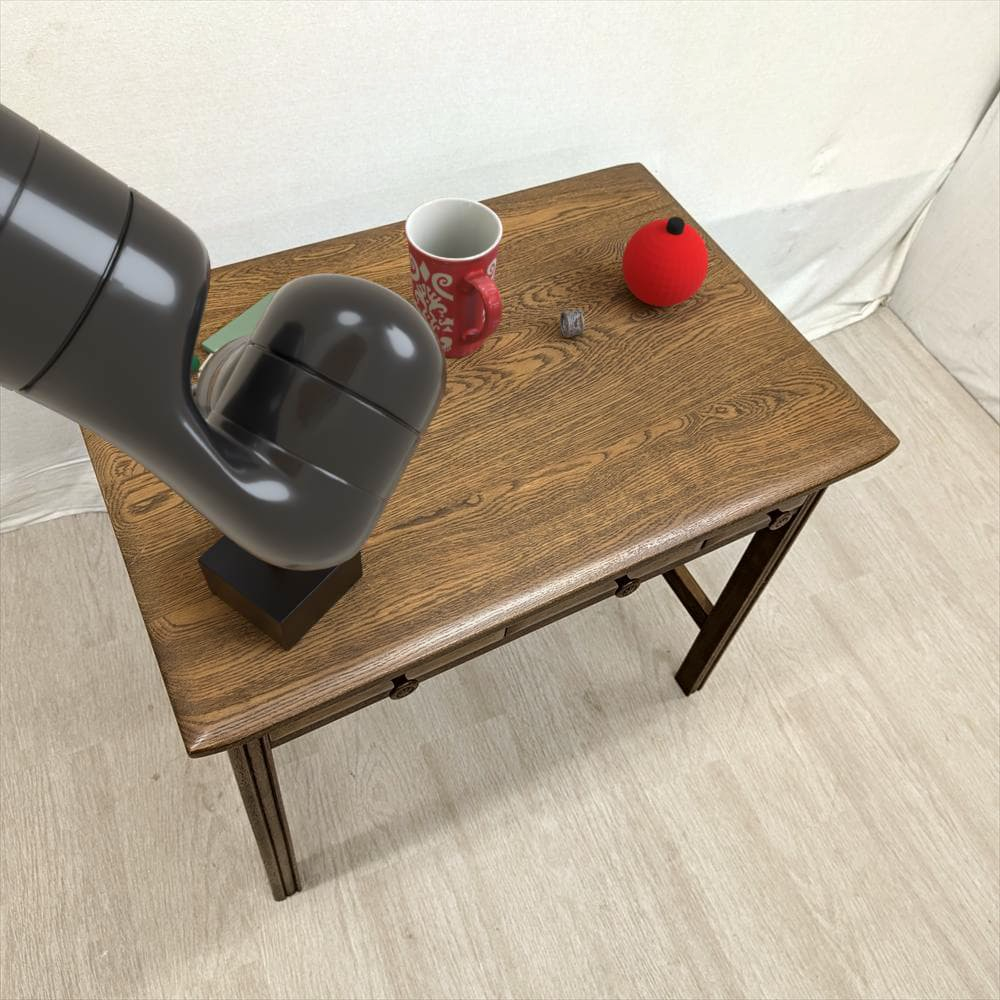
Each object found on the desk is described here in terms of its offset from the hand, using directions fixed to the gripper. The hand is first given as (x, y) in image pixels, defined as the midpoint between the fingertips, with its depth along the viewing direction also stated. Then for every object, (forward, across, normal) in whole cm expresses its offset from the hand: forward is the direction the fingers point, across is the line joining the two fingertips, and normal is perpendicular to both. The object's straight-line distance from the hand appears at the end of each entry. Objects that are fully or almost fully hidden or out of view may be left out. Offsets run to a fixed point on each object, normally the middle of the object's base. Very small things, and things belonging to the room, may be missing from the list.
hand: (246, 392), depth 63 cm
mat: (+28, -6, -2) cm, 29 cm away
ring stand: (+9, +1, +16) cm, 19 cm away
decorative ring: (+22, -35, +4) cm, 41 cm away
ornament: (+23, -46, +3) cm, 52 cm away
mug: (+24, -23, +2) cm, 33 cm away
